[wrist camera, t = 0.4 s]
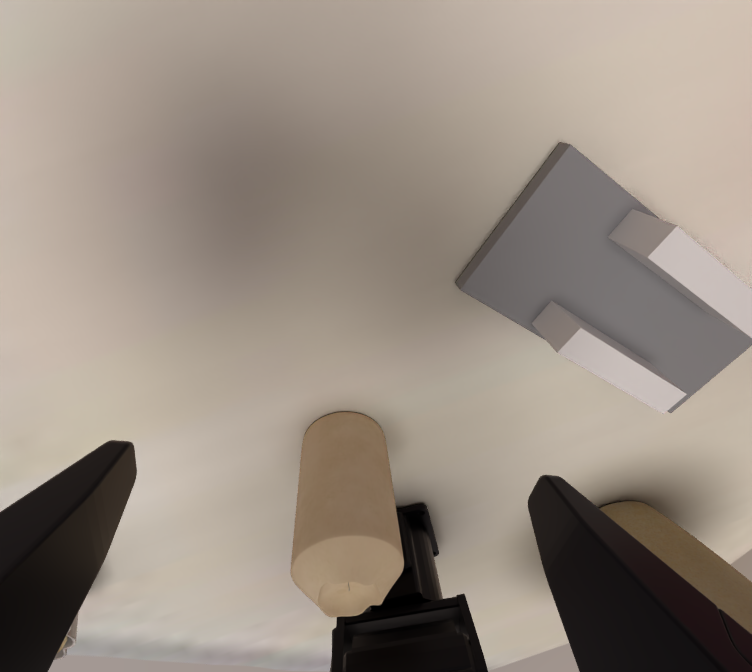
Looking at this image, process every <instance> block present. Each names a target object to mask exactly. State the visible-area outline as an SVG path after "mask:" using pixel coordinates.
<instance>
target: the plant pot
mask: <svg viewBox="0 0 752 672" xmlns="http://www.w3.org/2000/svg"><path fill="white" fill-rule="evenodd" d="M599 509H600V510H601V511H603V512H604V513H605V514H606V515H607V516H609V517H610V518H611V519H612V520H613V521H615V522H616V523H617V524H618V525H620V526H621V527H622V528H623V529H624V530H626V531H627V532H628V533H629V534H630V535H632V536H633V537H634V538H635V539H637V540H638V541H639V542H640V543H641V544H643V545H644V546H645V547H646V548H647V549H649V550H650V551H651V552H652V553H654V554H655V555H656V556H657V557H658V558H660V559H661V560H662V561H663V562H665V563H666V564H667V565H668V566H669V567H671V568H672V569H673V570H674V571H675V572H677V573H678V574H679V575H680V576H682V577H683V578H684V579H685V580H686V581H688V582H689V583H690V584H691V585H692V586H694V587H695V588H696V589H697V590H699V591H700V592H701V593H702V594H703V595H705V596H706V597H707V598H708V599H709V600H711V601H712V602H713V603H714V604H716V606H717V607H718V608H719V609H722V610H723V611H724V612H725V613H727V614H728V615H729V616H730V617H731V618H733V619H734V620H735V621H736V622H737V623H739V624H740V625H741V626H742V627H744V628H745V629H746V630H747V631H749V632H750V633H751V634H752V582H751V581H749V580H748V579H747V578H746V577H745V576H743V575H742V574H741V573H740V572H738V571H737V570H736V569H735V568H733V567H732V566H731V565H730V564H728V563H727V562H726V561H725V560H723V559H722V558H721V557H719V556H718V555H717V554H715V553H714V552H713V551H712V550H710V549H709V548H708V547H706V546H705V545H704V544H702V543H701V542H700V541H699V540H697V539H696V538H695V537H693V536H692V535H690V534H689V533H688V532H686V531H685V530H684V529H682V528H681V527H679V526H678V525H677V524H675V523H674V522H672V521H671V520H669V519H668V518H667V517H665V516H664V515H662V514H661V513H659V512H658V511H656V510H655V509H654V508H652V507H650V506H649V505H647V504H645V503H641V502H635V501H624V502H617V503H613V504H609V505H606V506H603V507H601V508H599Z"/></svg>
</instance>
